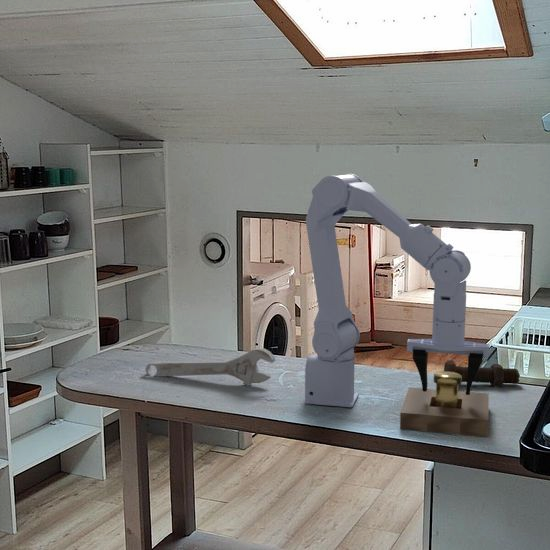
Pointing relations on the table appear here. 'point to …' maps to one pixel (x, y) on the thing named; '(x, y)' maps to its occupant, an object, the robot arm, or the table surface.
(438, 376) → the brass pin
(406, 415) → the socket plate
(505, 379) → the bolt
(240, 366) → the wrench
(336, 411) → the table surface
